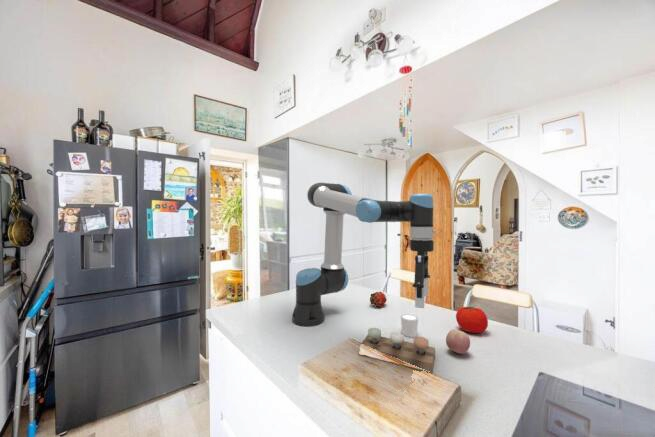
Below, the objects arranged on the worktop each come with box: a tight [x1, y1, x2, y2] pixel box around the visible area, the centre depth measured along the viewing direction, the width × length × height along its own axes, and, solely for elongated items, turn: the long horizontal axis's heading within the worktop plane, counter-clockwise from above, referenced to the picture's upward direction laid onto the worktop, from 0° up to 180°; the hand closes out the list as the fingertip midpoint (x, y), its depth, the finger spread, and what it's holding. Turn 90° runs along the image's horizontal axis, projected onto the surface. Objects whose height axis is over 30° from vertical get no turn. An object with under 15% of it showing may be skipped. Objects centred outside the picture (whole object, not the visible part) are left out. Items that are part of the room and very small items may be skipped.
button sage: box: [367, 327, 382, 344], centre depth 95 cm, size 5×5×6 cm
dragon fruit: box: [369, 291, 388, 308], centre depth 142 cm, size 8×8×12 cm
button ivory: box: [389, 331, 405, 349], centre depth 91 cm, size 5×5×6 cm
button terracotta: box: [413, 336, 429, 355], centre depth 88 cm, size 5×5×6 cm
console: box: [361, 334, 436, 373], centre depth 91 cm, size 24×11×3 cm, turn 63°
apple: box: [445, 329, 471, 355], centre depth 93 cm, size 8×8×8 cm
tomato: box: [455, 305, 489, 334], centre depth 111 cm, size 12×12×10 cm
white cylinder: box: [400, 313, 419, 338], centre depth 108 cm, size 7×7×7 cm
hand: (422, 301), depth 89 cm, fingers open, 13 cm apart
